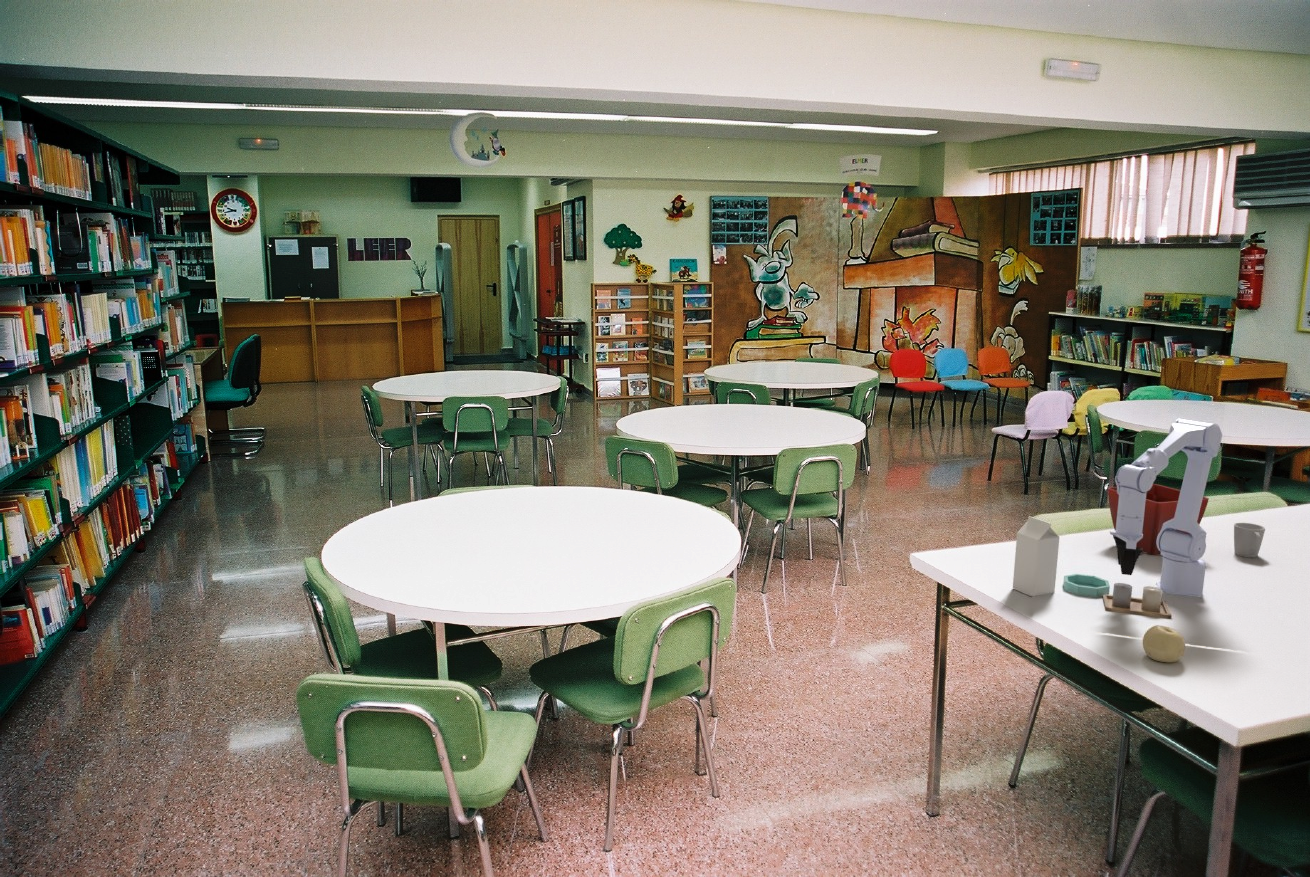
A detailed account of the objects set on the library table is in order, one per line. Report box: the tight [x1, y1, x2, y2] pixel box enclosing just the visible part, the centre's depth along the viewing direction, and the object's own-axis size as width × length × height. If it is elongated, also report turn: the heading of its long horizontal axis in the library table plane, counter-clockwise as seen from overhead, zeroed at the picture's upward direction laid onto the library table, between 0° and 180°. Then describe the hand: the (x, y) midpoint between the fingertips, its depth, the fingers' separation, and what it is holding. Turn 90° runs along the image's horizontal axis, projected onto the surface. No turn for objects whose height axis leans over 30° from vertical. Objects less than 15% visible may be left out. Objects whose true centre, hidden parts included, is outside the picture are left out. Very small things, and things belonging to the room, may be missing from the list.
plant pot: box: [1107, 483, 1210, 556], centre depth 272 cm, size 19×19×17 cm
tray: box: [1101, 594, 1172, 619], centre depth 225 cm, size 14×10×1 cm
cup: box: [1233, 522, 1266, 558], centre depth 266 cm, size 8×10×8 cm
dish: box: [1063, 573, 1111, 598], centre depth 237 cm, size 10×10×3 cm
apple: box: [1142, 624, 1186, 663], centre depth 196 cm, size 8×8×8 cm
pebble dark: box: [1112, 582, 1133, 608], centre depth 225 cm, size 4×4×5 cm
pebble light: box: [1141, 585, 1163, 612], centre depth 223 cm, size 4×4×5 cm
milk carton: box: [1012, 515, 1060, 598], centre depth 235 cm, size 7×7×19 cm
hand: (1124, 569), depth 224 cm, fingers open, 7 cm apart
